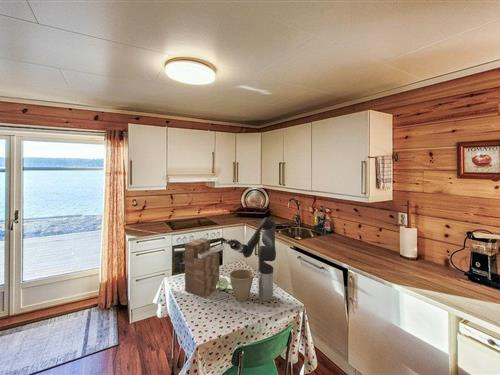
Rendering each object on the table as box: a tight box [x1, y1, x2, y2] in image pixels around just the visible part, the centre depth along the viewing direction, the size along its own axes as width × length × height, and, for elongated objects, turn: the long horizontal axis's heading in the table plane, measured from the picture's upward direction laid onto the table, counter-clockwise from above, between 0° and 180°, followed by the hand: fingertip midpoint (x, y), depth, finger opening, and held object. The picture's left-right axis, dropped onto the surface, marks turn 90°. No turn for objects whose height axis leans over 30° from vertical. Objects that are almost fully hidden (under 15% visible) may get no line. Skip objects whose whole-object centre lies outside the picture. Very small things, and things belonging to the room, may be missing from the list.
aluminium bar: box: [198, 243, 225, 259], centre depth 166 cm, size 24×3×3 cm, turn 149°
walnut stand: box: [184, 237, 220, 299], centre depth 165 cm, size 16×16×32 cm
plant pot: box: [229, 268, 255, 303], centre depth 154 cm, size 15×15×16 cm
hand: (226, 239), depth 180 cm, fingers open, 8 cm apart
